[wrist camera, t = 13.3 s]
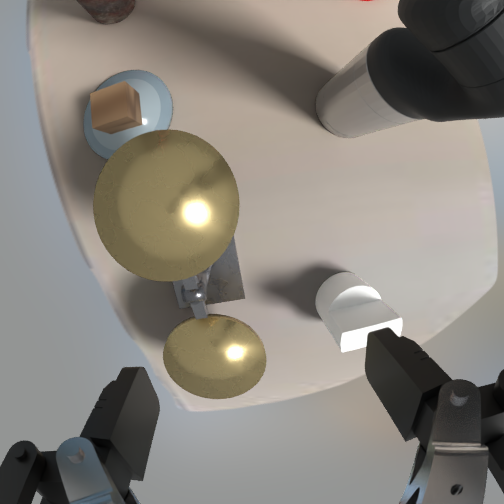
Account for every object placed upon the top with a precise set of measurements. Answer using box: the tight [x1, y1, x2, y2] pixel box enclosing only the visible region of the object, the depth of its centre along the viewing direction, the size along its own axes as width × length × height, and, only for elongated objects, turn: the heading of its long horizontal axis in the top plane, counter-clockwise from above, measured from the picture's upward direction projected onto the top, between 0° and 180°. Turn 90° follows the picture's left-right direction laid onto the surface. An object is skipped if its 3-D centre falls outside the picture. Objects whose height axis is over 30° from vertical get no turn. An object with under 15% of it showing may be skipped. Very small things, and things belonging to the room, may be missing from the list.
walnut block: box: [90, 81, 143, 134], centre depth 31 cm, size 5×5×6 cm
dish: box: [84, 70, 173, 159], centre depth 34 cm, size 14×14×1 cm
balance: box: [93, 130, 266, 399], centre depth 33 cm, size 33×13×16 cm, turn 9°
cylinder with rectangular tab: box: [315, 272, 402, 353], centre depth 38 cm, size 9×9×12 cm
